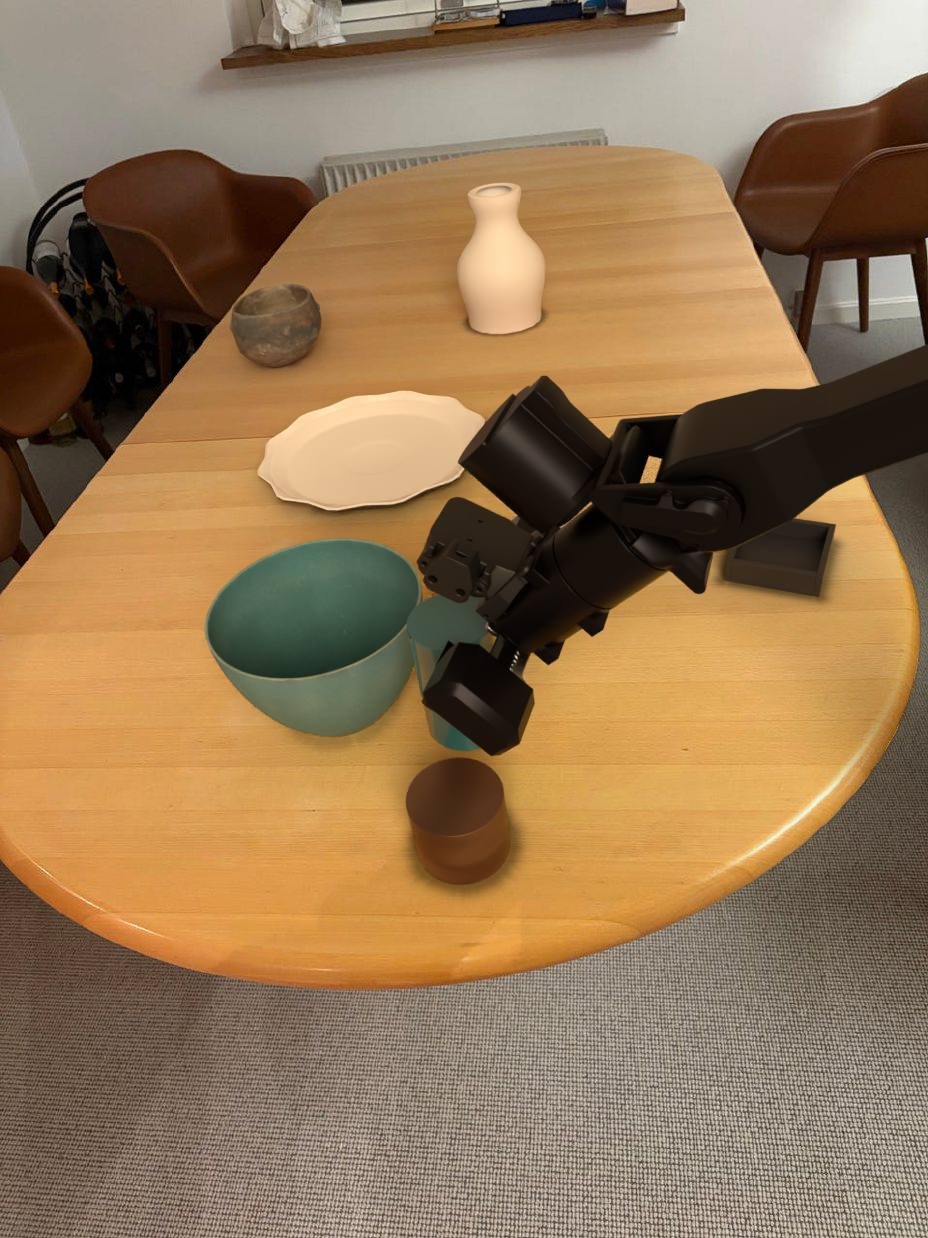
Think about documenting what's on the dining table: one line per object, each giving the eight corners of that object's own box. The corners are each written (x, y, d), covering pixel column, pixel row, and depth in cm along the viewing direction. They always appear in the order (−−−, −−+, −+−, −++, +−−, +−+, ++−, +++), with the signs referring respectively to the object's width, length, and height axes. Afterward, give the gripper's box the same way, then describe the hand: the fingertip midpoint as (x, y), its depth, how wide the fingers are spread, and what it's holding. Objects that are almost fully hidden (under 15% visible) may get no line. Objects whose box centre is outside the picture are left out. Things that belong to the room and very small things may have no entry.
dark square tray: (832, 543, 91) (836, 523, 89) (819, 597, 85) (823, 576, 83) (742, 530, 94) (744, 511, 92) (724, 580, 88) (725, 560, 86)
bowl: (332, 335, 149) (319, 275, 142) (324, 374, 137) (309, 311, 131) (251, 345, 150) (234, 286, 143) (236, 385, 138) (217, 323, 131)
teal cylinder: (522, 706, 66) (511, 604, 60) (481, 762, 62) (464, 659, 56) (455, 683, 69) (437, 582, 62) (412, 735, 65) (388, 634, 59)
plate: (532, 464, 109) (530, 447, 108) (318, 554, 100) (313, 537, 98) (419, 386, 130) (417, 371, 128) (233, 456, 120) (228, 440, 119)
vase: (449, 334, 143) (431, 204, 130) (481, 300, 153) (468, 176, 140) (531, 339, 138) (522, 204, 125) (559, 303, 148) (553, 174, 135)
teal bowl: (459, 752, 75) (439, 646, 67) (247, 804, 73) (201, 701, 65) (422, 621, 89) (402, 520, 81) (243, 662, 87) (205, 563, 79)
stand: (524, 821, 69) (518, 771, 65) (487, 897, 64) (479, 849, 60) (442, 796, 72) (432, 747, 68) (401, 868, 67) (388, 819, 63)
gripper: (532, 401, 57) (404, 527, 68) (432, 576, 44) (294, 697, 55) (652, 513, 60) (511, 617, 70) (591, 708, 47) (429, 800, 57)
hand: (442, 673), depth 63 cm, fingers closed on teal cylinder, 6 cm apart
